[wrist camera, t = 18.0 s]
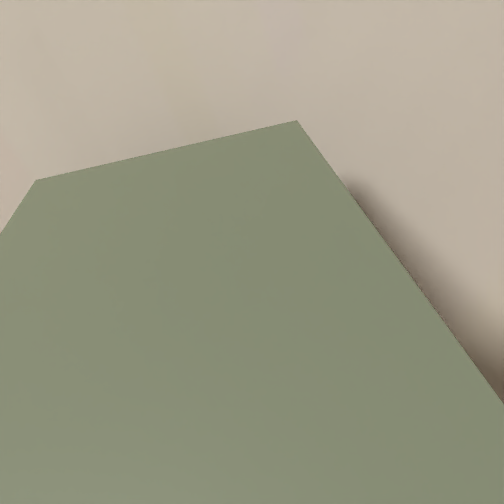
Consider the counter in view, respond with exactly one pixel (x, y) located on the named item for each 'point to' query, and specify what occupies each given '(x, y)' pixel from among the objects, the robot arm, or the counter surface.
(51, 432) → the cream cube green side
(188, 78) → the counter surface
